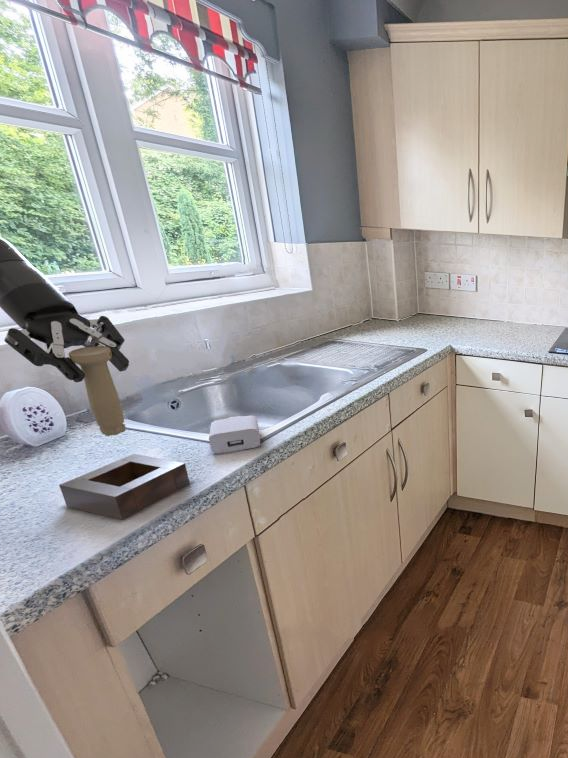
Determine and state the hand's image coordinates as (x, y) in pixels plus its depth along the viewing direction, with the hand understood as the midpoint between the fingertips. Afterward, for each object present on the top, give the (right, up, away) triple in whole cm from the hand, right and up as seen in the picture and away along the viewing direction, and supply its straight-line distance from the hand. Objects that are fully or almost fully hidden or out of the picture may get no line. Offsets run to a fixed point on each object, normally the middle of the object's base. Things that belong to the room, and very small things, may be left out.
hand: (104, 373), depth 76 cm
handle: (-2, -11, +4) cm, 12 cm away
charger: (+2, -14, +31) cm, 34 cm away
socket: (-2, -22, +8) cm, 23 cm away
